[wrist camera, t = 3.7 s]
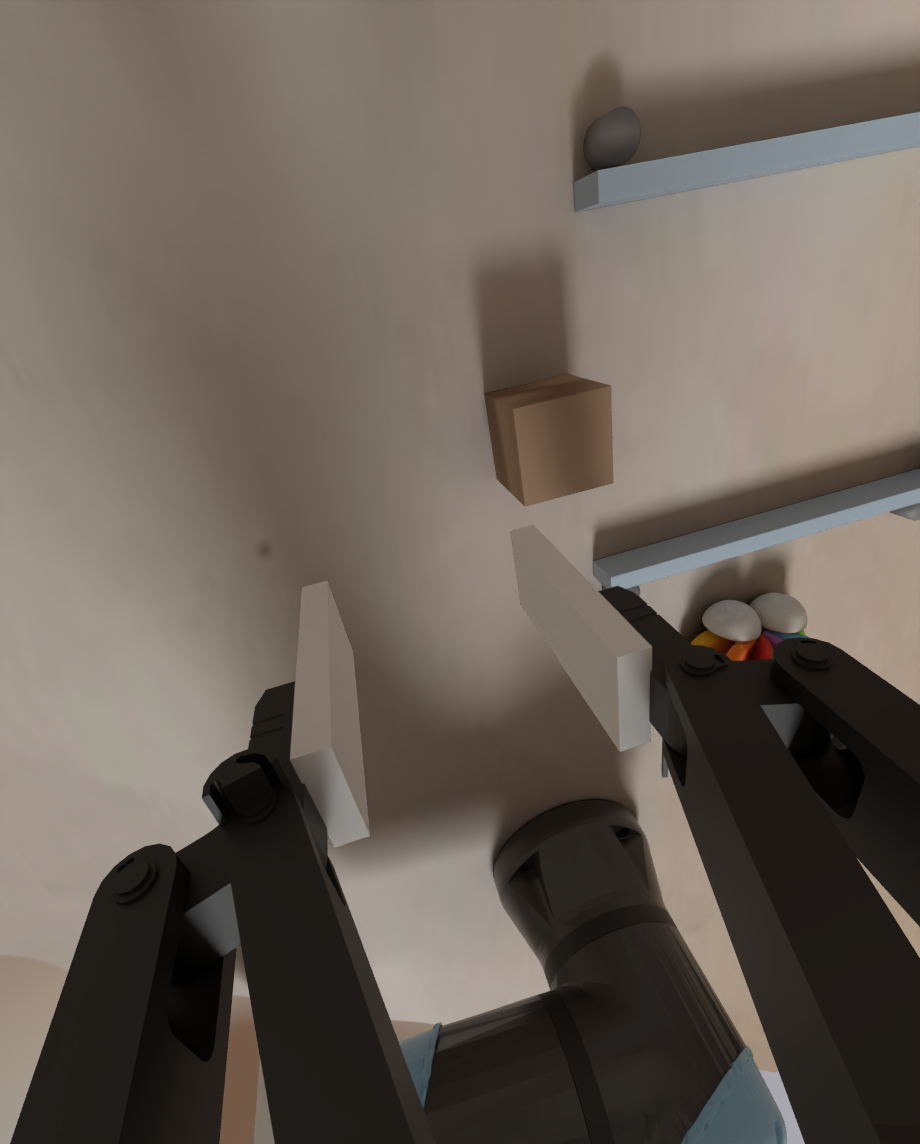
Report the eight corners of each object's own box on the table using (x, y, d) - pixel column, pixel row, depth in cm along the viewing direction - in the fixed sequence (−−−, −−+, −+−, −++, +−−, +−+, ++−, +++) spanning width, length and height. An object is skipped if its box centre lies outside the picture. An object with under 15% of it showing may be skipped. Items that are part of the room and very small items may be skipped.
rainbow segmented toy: (685, 597, 39) (755, 653, 33) (792, 580, 41) (877, 630, 34) (666, 684, 43) (725, 748, 37) (764, 665, 45) (836, 723, 38)
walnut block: (496, 478, 31) (525, 506, 26) (483, 393, 28) (513, 409, 24) (573, 458, 31) (613, 483, 27) (567, 374, 29) (610, 385, 25)
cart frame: (595, 601, 37) (612, 619, 35) (570, 123, 23) (595, 105, 21) (920, 505, 40) (954, 517, 38) (1058, 41, 27) (1122, 18, 25)
